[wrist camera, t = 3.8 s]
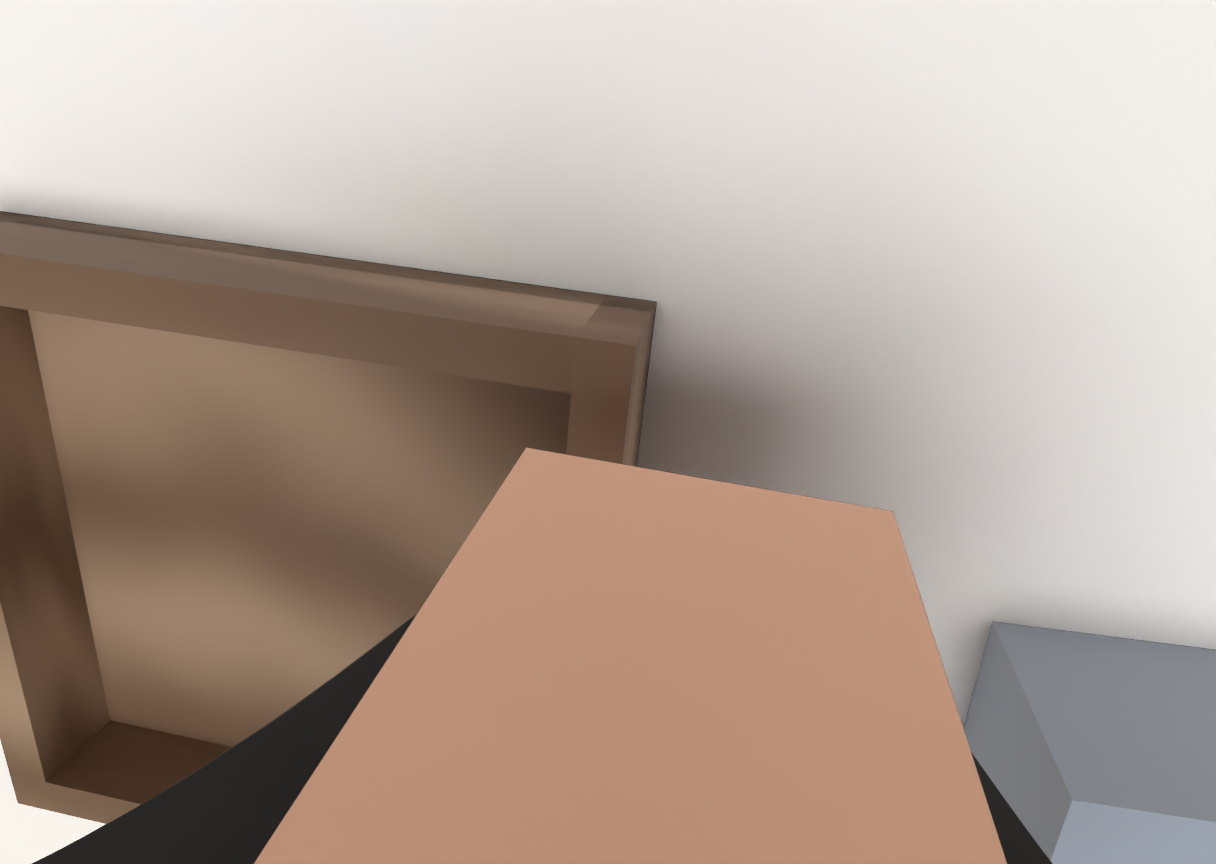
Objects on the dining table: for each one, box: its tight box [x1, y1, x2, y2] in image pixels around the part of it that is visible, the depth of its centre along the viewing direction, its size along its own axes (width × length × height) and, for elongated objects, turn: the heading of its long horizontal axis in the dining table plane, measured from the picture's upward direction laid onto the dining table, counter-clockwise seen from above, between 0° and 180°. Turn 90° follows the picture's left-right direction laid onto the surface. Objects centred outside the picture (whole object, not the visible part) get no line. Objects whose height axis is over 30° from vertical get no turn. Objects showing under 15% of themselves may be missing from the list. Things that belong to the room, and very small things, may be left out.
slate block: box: [963, 622, 1216, 864], centre depth 16 cm, size 7×7×5 cm
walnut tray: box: [0, 211, 657, 824], centre depth 18 cm, size 14×14×3 cm
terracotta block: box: [254, 448, 1007, 864], centre depth 8 cm, size 4×4×6 cm
